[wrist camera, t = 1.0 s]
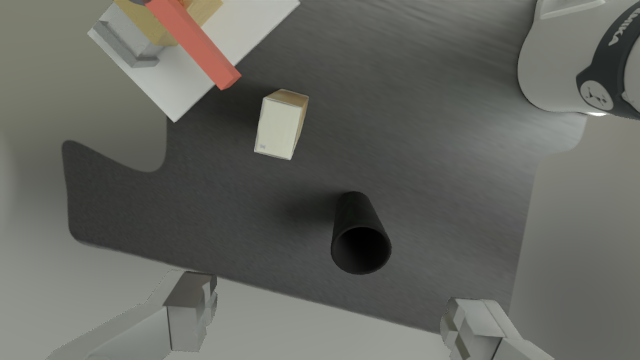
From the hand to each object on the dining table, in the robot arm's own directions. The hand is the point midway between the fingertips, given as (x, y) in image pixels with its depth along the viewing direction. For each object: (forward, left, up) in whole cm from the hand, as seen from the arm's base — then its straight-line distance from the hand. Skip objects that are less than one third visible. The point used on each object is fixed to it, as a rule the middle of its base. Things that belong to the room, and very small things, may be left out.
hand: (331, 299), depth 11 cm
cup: (+6, +14, -36) cm, 39 cm away
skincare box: (+4, -4, -36) cm, 37 cm away
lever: (+5, -18, -28) cm, 33 cm away
